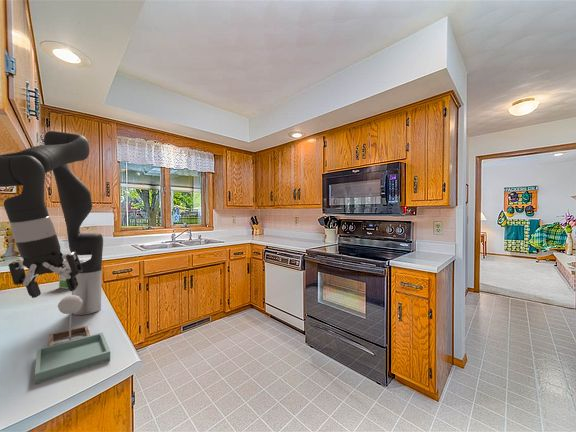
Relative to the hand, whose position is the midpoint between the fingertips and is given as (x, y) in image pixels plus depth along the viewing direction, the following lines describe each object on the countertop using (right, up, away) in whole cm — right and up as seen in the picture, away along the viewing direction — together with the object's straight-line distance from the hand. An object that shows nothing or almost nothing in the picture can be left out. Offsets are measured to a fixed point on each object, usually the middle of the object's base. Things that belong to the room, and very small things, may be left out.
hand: (55, 292), depth 67 cm
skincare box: (-59, -19, +72) cm, 95 cm away
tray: (+1, -20, +4) cm, 21 cm away
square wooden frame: (-8, -20, +14) cm, 26 cm away
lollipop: (-8, -20, +14) cm, 26 cm away
